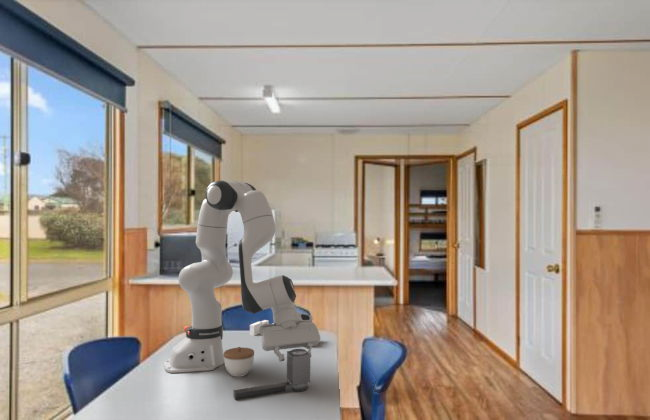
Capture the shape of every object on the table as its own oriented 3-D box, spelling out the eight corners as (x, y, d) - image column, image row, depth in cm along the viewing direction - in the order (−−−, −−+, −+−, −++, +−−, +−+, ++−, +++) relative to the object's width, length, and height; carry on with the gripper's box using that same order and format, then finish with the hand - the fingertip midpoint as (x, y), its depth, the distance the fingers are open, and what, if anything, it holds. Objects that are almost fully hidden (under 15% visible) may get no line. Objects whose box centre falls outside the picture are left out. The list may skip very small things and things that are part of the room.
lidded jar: (228, 380, 154) (228, 353, 154) (220, 371, 164) (220, 345, 164) (258, 375, 159) (258, 349, 159) (248, 366, 169) (248, 341, 169)
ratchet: (236, 402, 137) (236, 385, 137) (232, 394, 143) (232, 378, 143) (311, 390, 147) (311, 374, 147) (304, 383, 152) (304, 368, 152)
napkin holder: (249, 338, 207) (249, 326, 207) (242, 332, 217) (242, 320, 217) (279, 334, 214) (279, 322, 214) (271, 329, 224) (271, 317, 224)
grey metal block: (292, 384, 144) (293, 354, 144) (286, 378, 150) (287, 349, 150) (310, 382, 147) (310, 352, 147) (303, 375, 152) (303, 347, 152)
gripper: (260, 319, 152) (267, 357, 143) (315, 315, 160) (326, 350, 151) (256, 329, 156) (263, 367, 147) (311, 324, 164) (320, 360, 156)
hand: (295, 358), depth 149 cm, fingers open, 8 cm apart
